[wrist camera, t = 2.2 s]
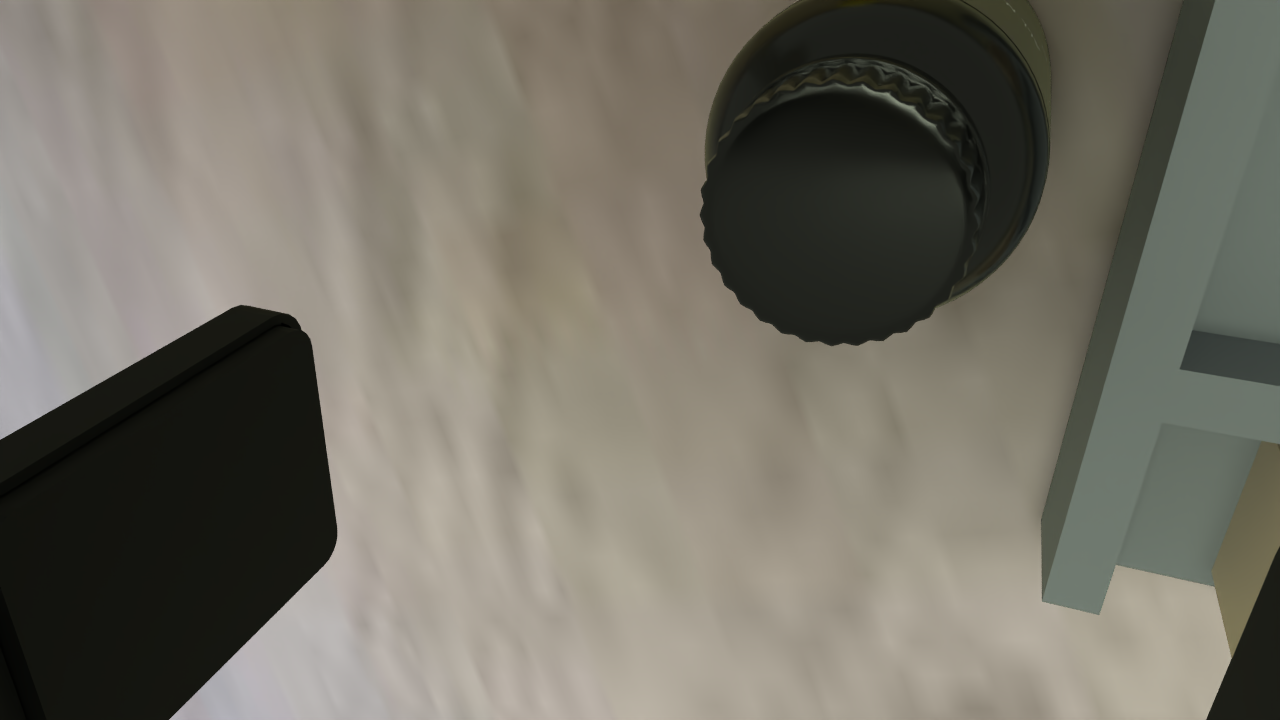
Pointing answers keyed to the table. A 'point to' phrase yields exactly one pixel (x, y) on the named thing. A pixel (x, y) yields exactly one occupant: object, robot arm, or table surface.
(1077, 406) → the rail rack
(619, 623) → the table surface
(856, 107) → the supplement bottle
